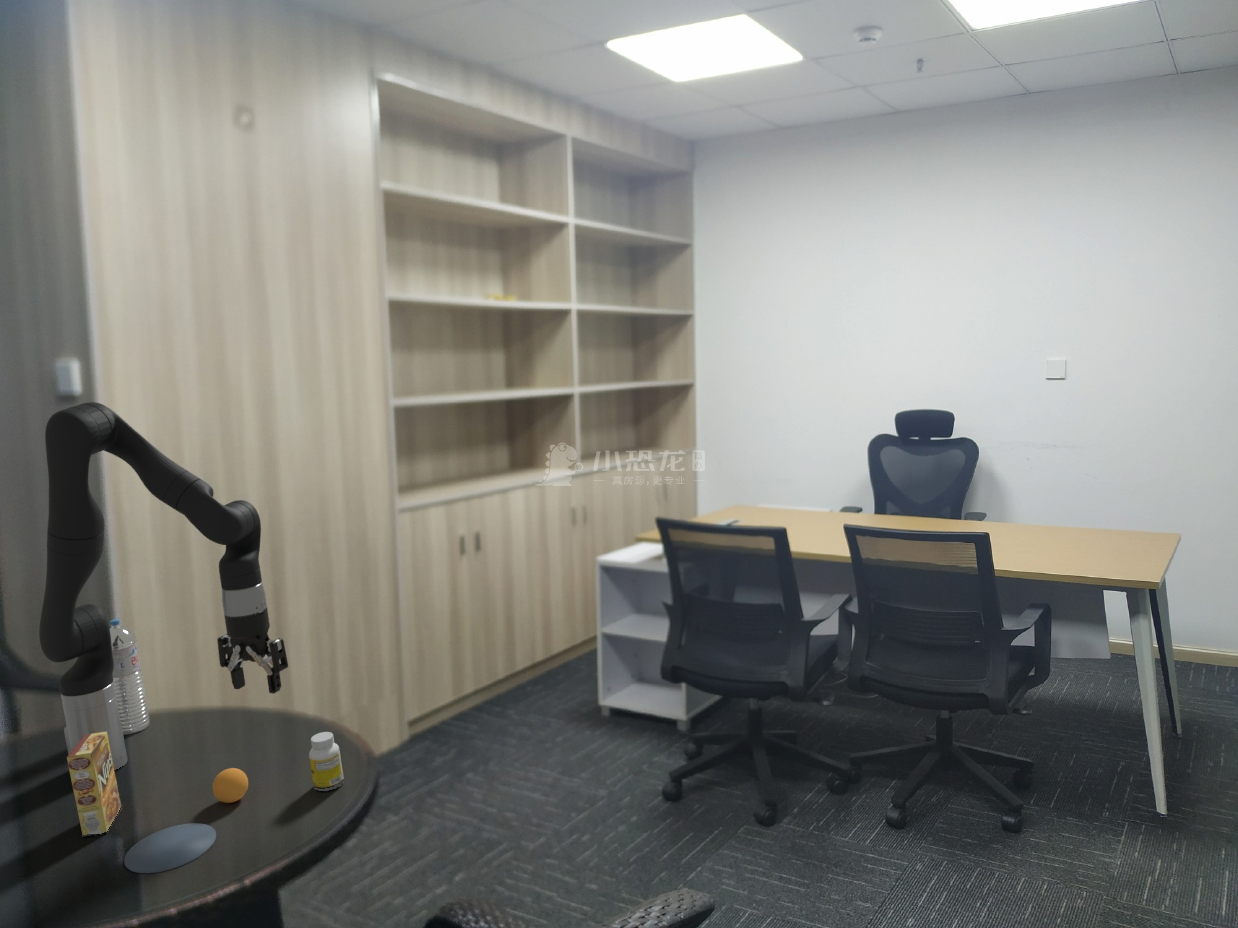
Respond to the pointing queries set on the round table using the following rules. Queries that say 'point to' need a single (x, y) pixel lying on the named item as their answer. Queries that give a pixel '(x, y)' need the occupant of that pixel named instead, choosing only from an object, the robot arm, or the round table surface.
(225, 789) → the ball
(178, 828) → the blue-grey plate
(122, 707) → the water bottle
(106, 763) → the candy box
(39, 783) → the round table surface
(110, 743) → the robot arm
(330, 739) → the supplement bottle
